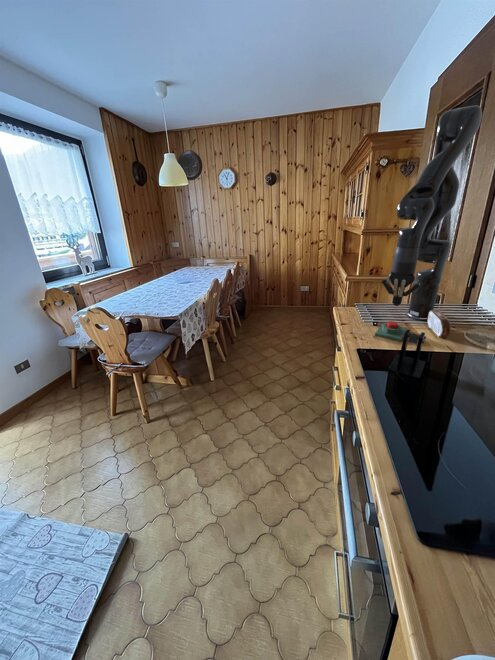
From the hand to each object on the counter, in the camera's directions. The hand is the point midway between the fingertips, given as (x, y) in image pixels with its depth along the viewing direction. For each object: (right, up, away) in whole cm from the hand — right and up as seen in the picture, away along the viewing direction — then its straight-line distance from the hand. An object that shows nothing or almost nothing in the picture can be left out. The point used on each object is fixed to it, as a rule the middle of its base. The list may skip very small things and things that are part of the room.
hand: (396, 305), depth 107 cm
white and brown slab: (+19, -11, +6) cm, 22 cm away
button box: (+1, -12, +6) cm, 13 cm away
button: (+1, -8, +4) cm, 9 cm away
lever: (-2, -13, -15) cm, 20 cm away
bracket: (-4, -22, -14) cm, 27 cm away
